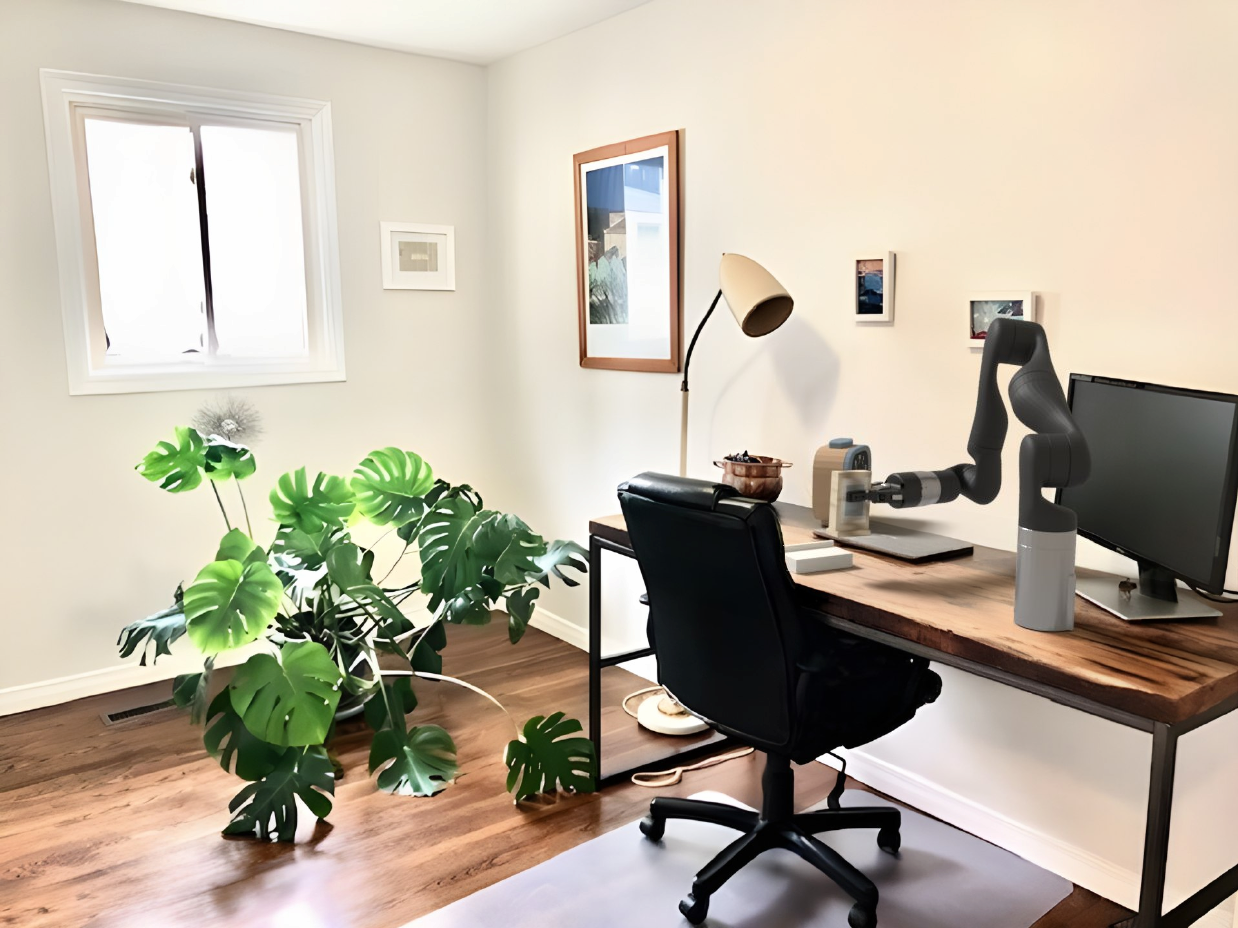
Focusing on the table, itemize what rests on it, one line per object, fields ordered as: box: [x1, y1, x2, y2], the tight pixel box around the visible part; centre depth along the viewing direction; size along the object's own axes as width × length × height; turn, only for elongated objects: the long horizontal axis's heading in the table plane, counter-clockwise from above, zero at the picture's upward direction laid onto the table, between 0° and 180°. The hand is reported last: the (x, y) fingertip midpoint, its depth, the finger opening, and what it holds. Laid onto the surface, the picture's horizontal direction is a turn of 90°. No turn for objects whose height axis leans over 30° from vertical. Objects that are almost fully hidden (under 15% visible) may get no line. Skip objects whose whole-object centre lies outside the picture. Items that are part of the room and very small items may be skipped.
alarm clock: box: [811, 437, 872, 527], centre depth 250 cm, size 21×10×22 cm, turn 150°
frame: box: [825, 470, 873, 539], centre depth 196 cm, size 8×4×13 cm, turn 111°
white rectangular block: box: [785, 539, 854, 575], centre depth 207 cm, size 14×8×4 cm, turn 111°
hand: (842, 495), depth 195 cm, fingers closed on frame, 3 cm apart
